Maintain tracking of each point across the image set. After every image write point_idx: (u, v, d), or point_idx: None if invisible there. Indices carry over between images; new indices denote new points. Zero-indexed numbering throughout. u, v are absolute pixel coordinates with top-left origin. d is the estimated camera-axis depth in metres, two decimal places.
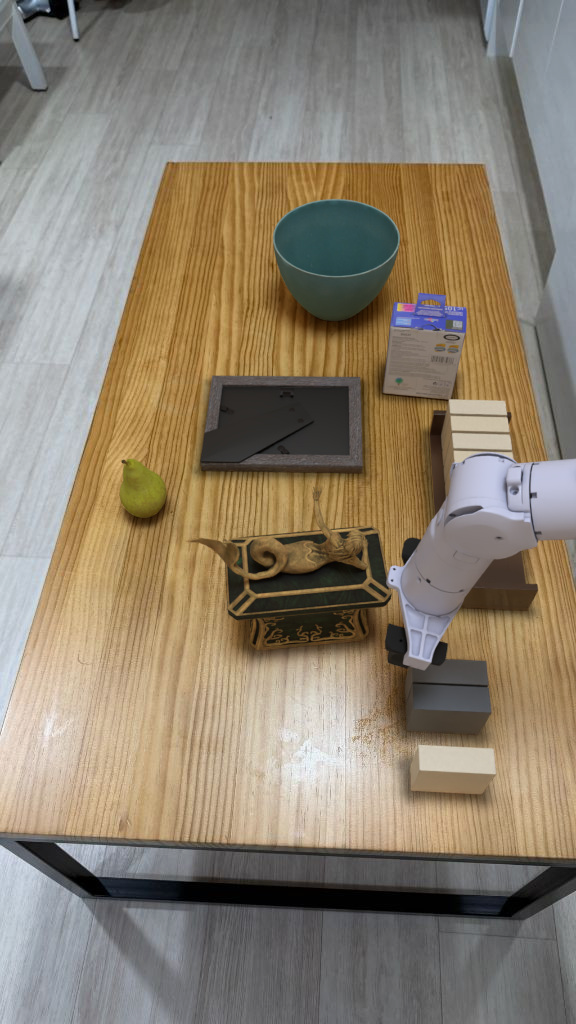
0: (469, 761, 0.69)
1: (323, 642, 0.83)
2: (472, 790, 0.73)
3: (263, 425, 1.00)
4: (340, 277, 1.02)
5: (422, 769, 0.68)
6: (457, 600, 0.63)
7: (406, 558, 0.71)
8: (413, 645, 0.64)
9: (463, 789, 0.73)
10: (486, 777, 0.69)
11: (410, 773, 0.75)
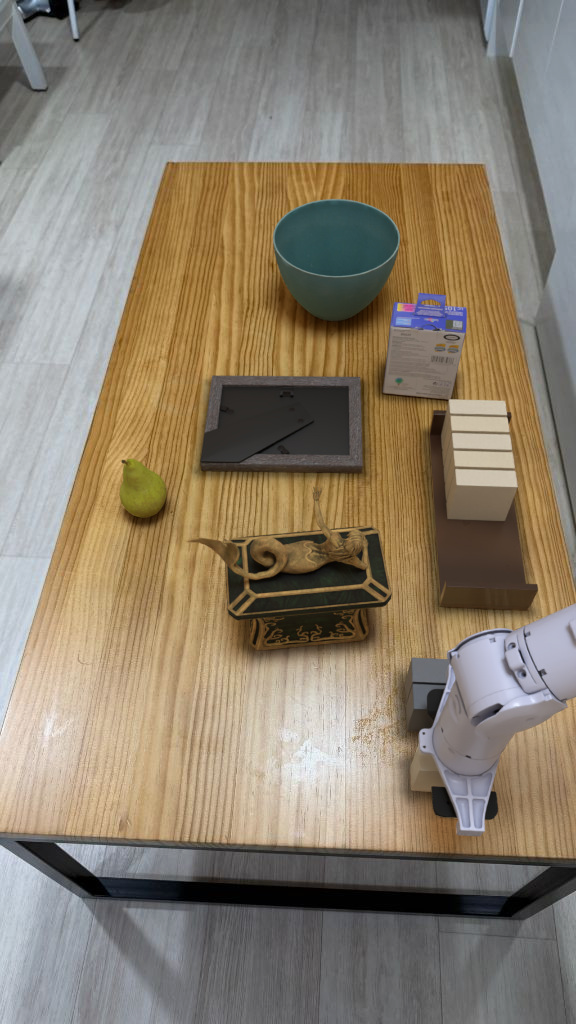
0: None
1: (323, 642, 0.83)
2: None
3: (263, 425, 1.00)
4: (340, 277, 1.02)
5: (422, 769, 0.68)
6: (495, 760, 0.61)
7: (433, 714, 0.69)
8: (462, 814, 0.62)
9: None
10: None
11: (410, 773, 0.75)
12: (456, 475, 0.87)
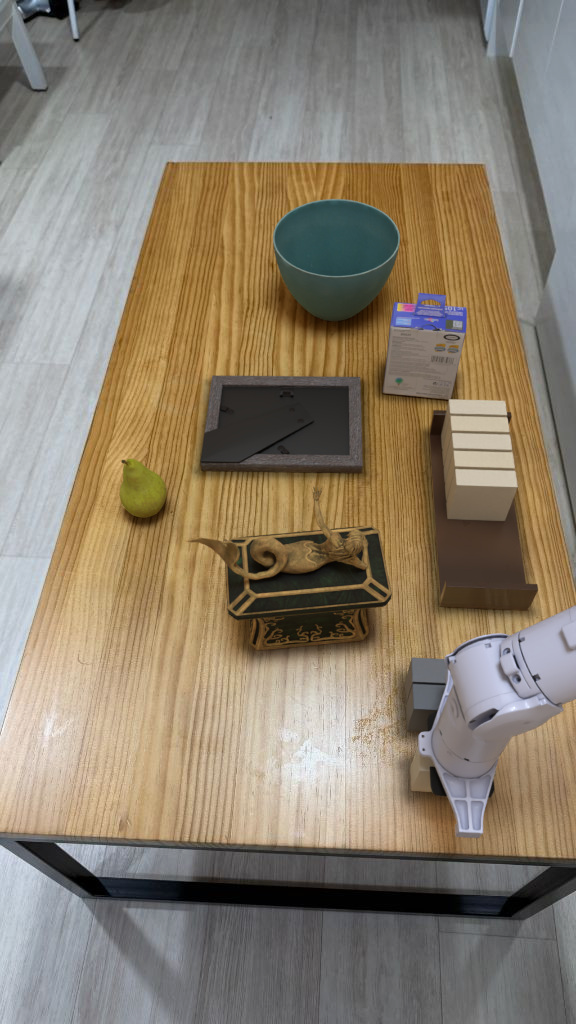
0: None
1: (323, 642, 0.83)
2: None
3: (263, 425, 1.00)
4: (340, 277, 1.02)
5: (422, 769, 0.68)
6: (493, 762, 0.62)
7: None
8: (461, 816, 0.63)
9: None
10: None
11: (410, 773, 0.75)
12: (456, 475, 0.87)
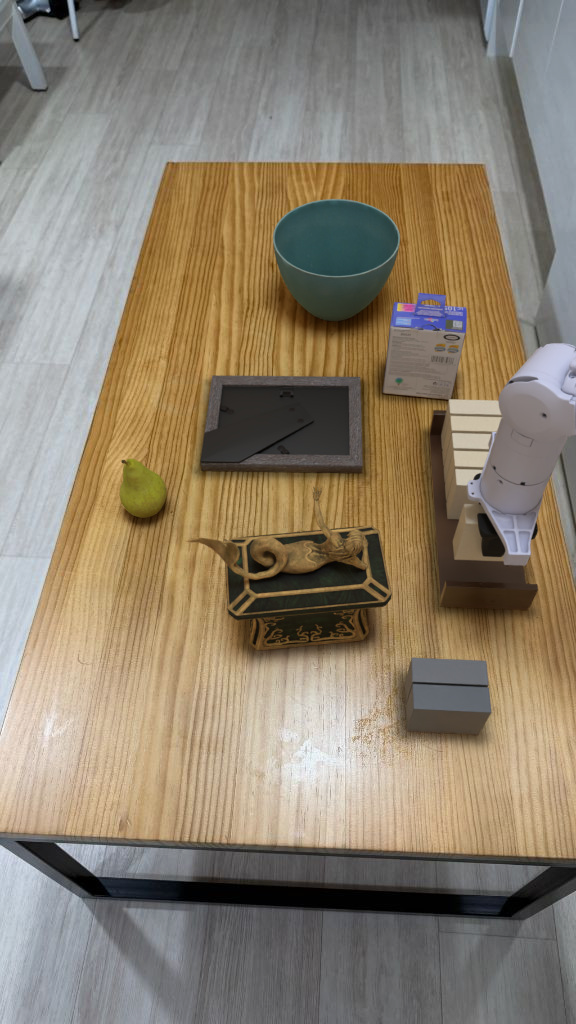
0: None
1: (323, 642, 0.83)
2: None
3: (263, 425, 1.00)
4: (340, 277, 1.02)
5: (468, 522, 0.74)
6: (539, 492, 0.67)
7: None
8: (509, 544, 0.68)
9: None
10: None
11: (453, 545, 0.80)
12: (456, 475, 0.87)
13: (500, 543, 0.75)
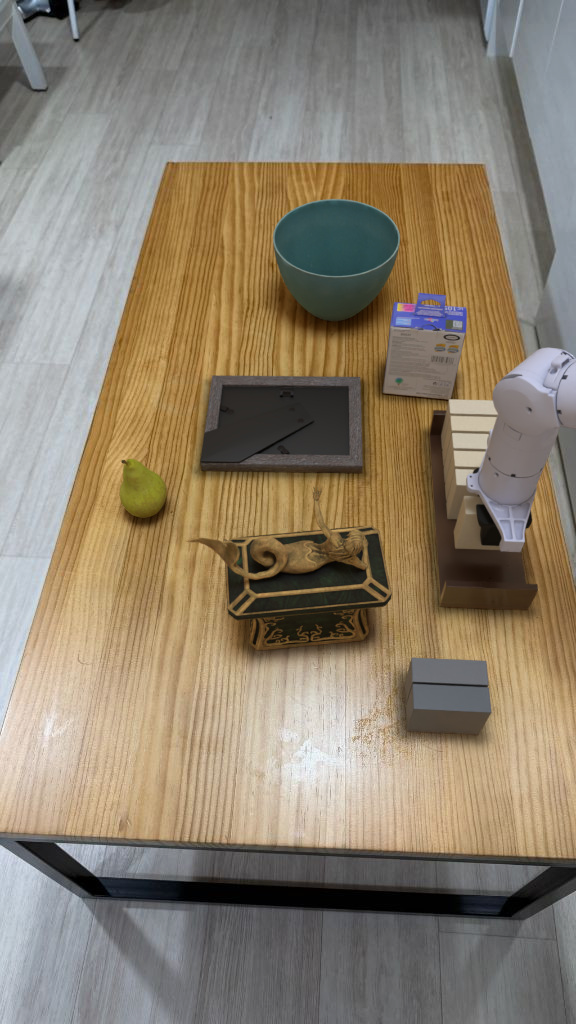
0: None
1: (323, 642, 0.83)
2: None
3: (263, 425, 1.00)
4: (340, 277, 1.02)
5: (468, 513, 0.80)
6: (533, 484, 0.73)
7: None
8: (505, 532, 0.74)
9: None
10: None
11: (454, 535, 0.86)
12: (456, 475, 0.87)
13: (497, 532, 0.81)
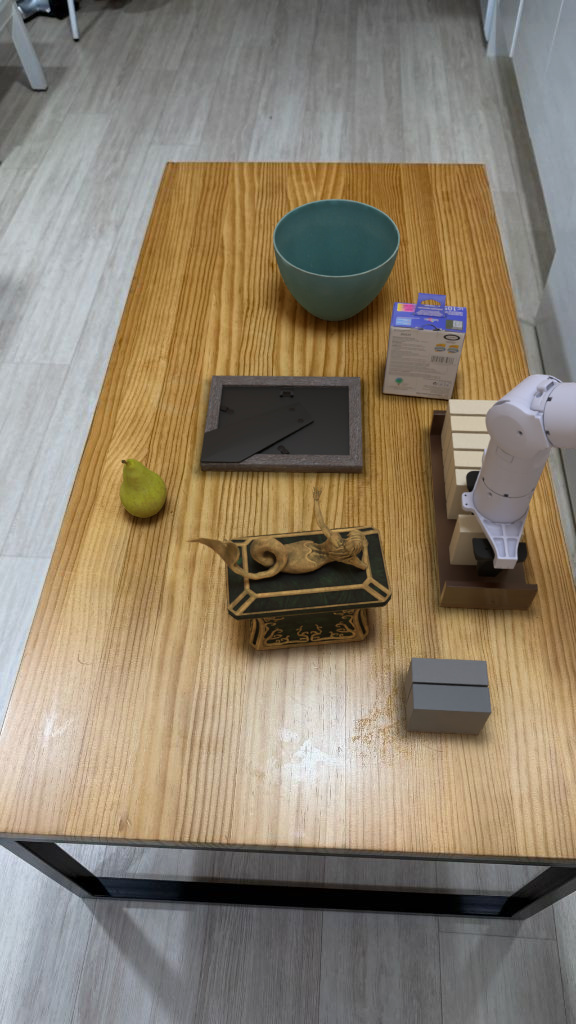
0: None
1: (323, 642, 0.83)
2: None
3: (263, 425, 1.00)
4: (340, 277, 1.02)
5: (462, 531, 0.82)
6: (525, 504, 0.76)
7: (471, 488, 0.83)
8: (499, 550, 0.76)
9: None
10: None
11: (449, 552, 0.89)
12: (456, 475, 0.87)
13: (494, 564, 0.82)
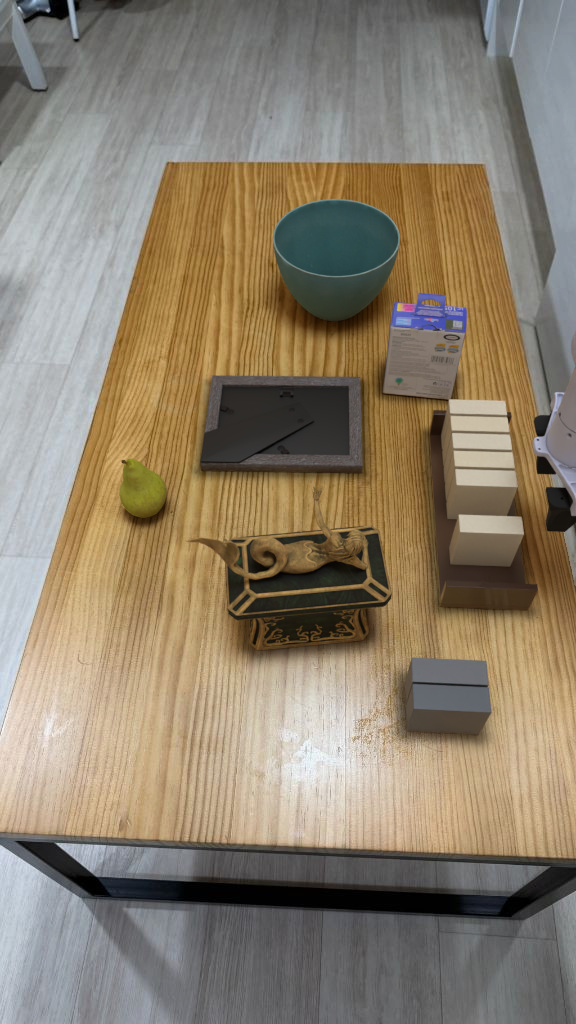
0: (501, 525, 0.83)
1: (323, 642, 0.83)
2: (502, 560, 0.87)
3: (263, 425, 1.00)
4: (340, 277, 1.02)
5: (462, 531, 0.82)
6: None
7: (540, 433, 0.78)
8: None
9: (495, 559, 0.87)
10: (516, 539, 0.83)
11: (449, 552, 0.89)
12: (456, 475, 0.87)
13: (566, 517, 0.77)
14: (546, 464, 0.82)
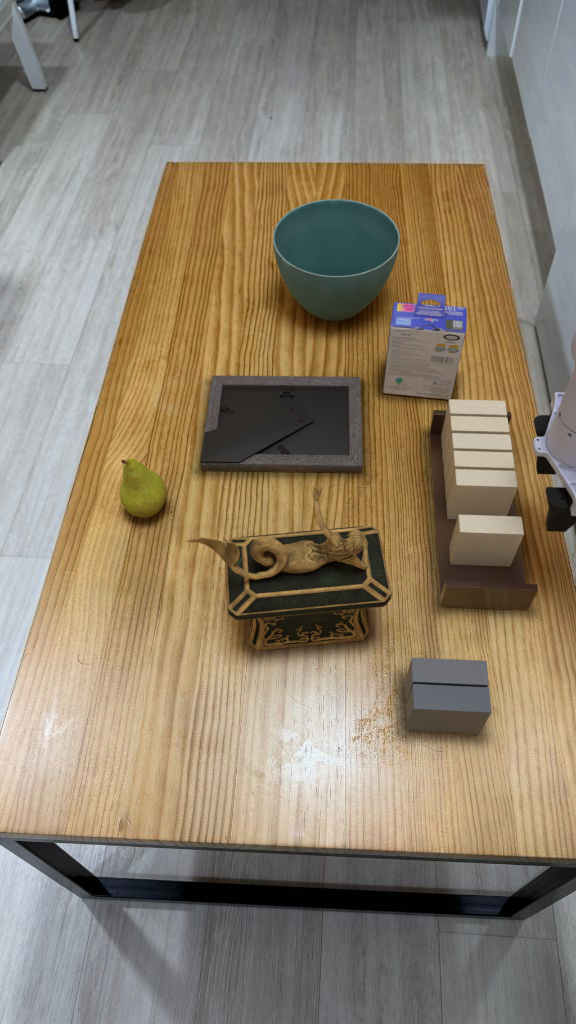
0: (501, 525, 0.83)
1: (323, 642, 0.83)
2: (502, 560, 0.87)
3: (263, 425, 1.00)
4: (340, 277, 1.02)
5: (462, 531, 0.82)
6: None
7: (540, 433, 0.78)
8: None
9: (495, 559, 0.87)
10: (516, 539, 0.83)
11: (449, 552, 0.89)
12: (456, 475, 0.87)
13: (566, 517, 0.77)
14: (546, 464, 0.82)
